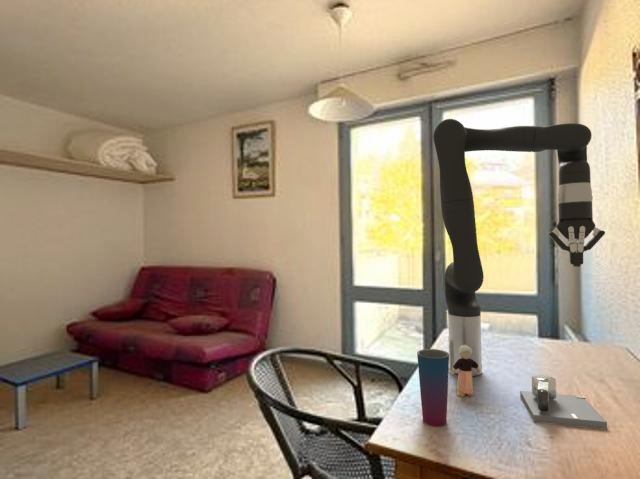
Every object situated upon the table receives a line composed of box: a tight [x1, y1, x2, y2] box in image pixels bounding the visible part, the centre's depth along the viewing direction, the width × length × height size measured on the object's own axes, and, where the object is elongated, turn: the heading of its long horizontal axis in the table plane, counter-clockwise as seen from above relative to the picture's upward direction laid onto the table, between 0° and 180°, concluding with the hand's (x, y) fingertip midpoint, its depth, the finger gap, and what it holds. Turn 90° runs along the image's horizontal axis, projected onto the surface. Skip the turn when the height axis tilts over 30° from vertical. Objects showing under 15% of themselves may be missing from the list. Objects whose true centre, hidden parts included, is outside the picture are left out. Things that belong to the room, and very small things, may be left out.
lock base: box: [519, 390, 608, 430], centre depth 88 cm, size 14×14×2 cm
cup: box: [416, 348, 450, 427], centre depth 85 cm, size 7×7×15 cm
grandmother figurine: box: [450, 345, 480, 397], centre depth 99 cm, size 8×4×13 cm, turn 105°
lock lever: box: [531, 374, 557, 411], centre depth 88 cm, size 12×5×4 cm, turn 149°
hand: (576, 266), depth 102 cm, fingers closed
